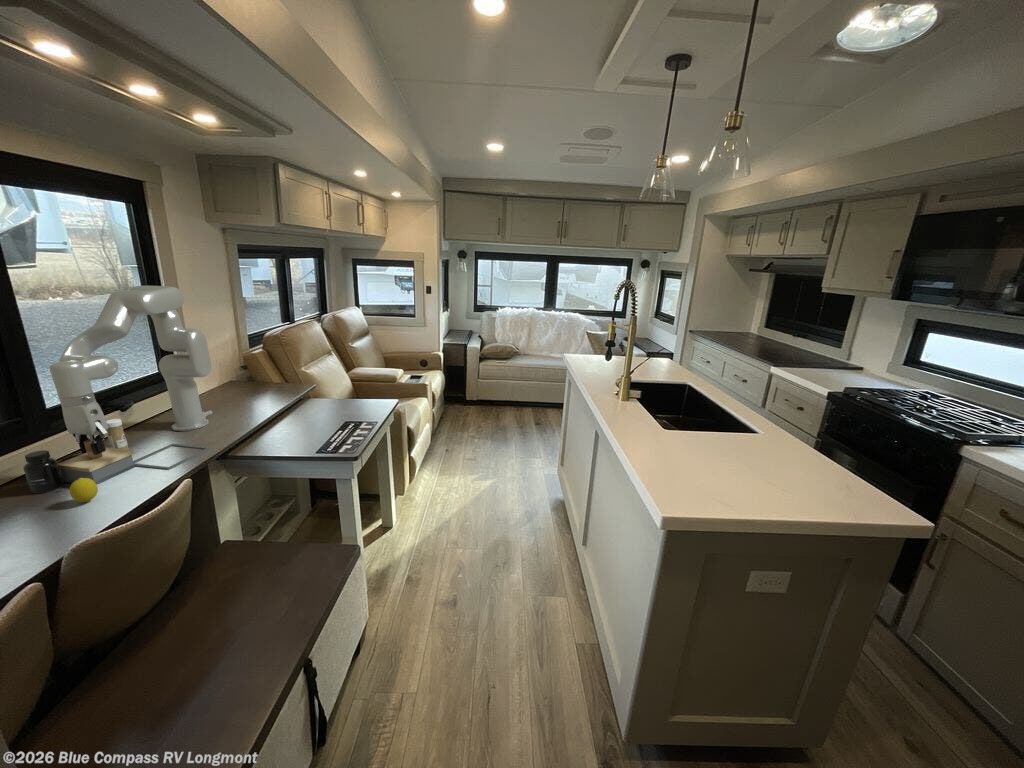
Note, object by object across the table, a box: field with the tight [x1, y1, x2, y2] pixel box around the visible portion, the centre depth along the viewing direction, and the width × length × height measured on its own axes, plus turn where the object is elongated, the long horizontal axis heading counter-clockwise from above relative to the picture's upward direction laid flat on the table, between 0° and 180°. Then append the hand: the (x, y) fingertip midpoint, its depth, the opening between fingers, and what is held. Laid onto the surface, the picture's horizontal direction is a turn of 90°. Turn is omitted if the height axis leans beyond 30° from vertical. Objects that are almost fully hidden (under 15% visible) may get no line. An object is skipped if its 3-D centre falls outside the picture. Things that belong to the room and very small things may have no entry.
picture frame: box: [133, 443, 212, 471], centre depth 146 cm, size 17×17×1 cm
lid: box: [57, 438, 135, 472], centre depth 131 cm, size 13×13×7 cm
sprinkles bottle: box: [106, 418, 130, 450], centre depth 145 cm, size 5×5×14 cm
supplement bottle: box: [22, 449, 64, 494], centre depth 123 cm, size 7×7×12 cm
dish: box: [59, 454, 136, 486], centre depth 133 cm, size 12×12×5 cm
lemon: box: [69, 478, 99, 503], centre depth 117 cm, size 6×6×8 cm
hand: (93, 451), depth 131 cm, fingers open, 3 cm apart
